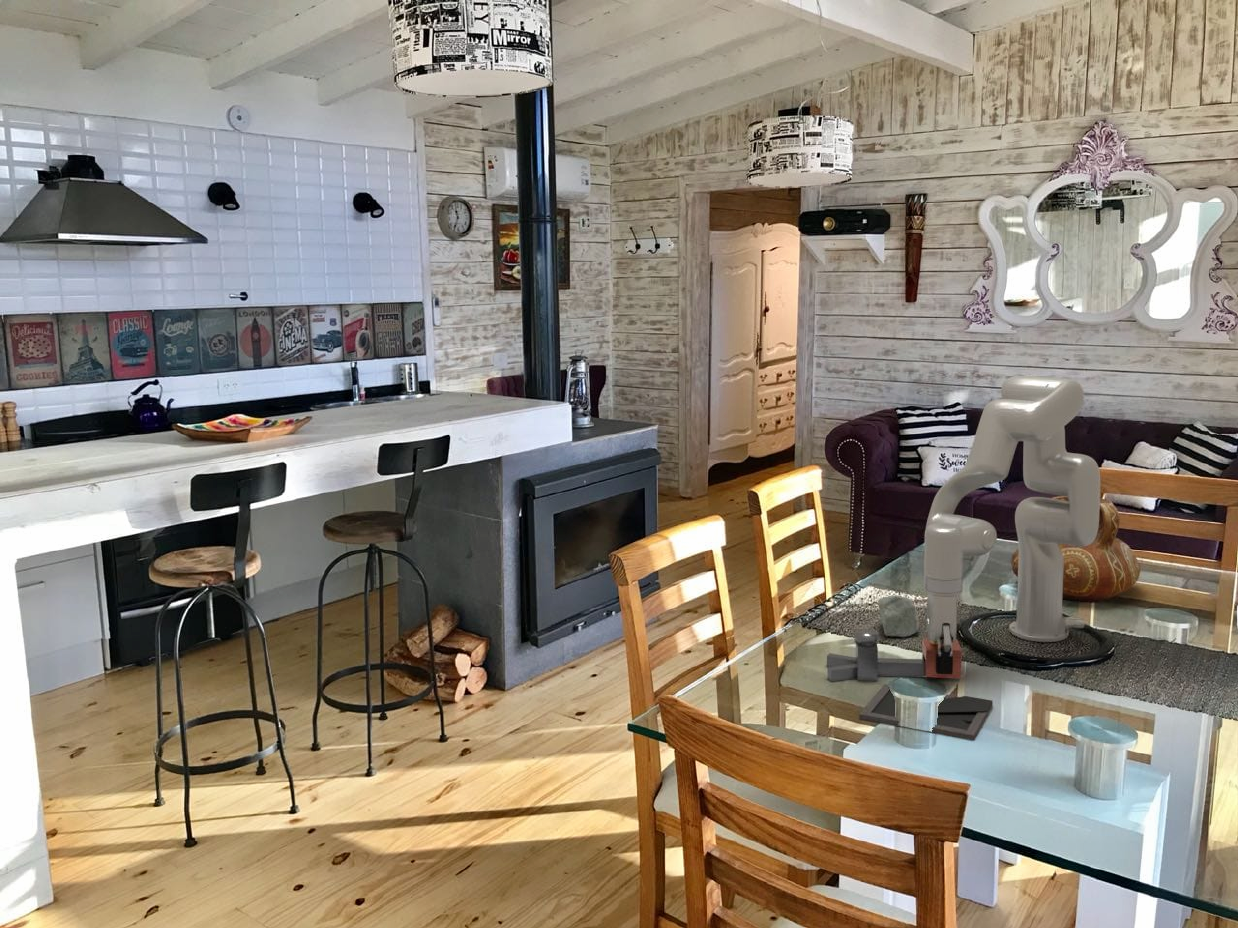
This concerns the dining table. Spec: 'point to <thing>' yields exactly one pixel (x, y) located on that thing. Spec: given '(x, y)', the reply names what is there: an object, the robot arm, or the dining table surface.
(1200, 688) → the dining table surface
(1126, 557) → the jug
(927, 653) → the block
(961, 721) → the picture frame
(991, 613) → the dining table surface
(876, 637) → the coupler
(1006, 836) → the dining table surface
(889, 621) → the decorative stone
